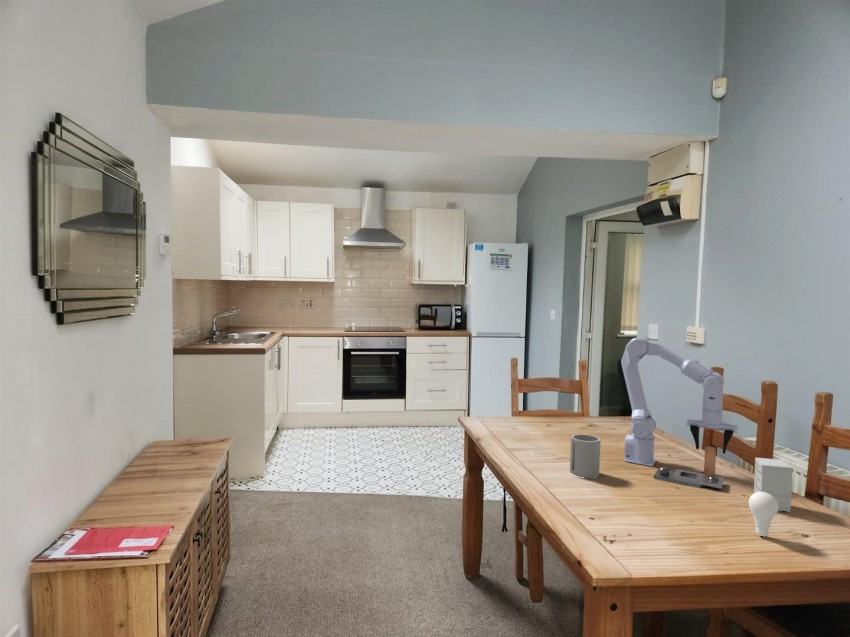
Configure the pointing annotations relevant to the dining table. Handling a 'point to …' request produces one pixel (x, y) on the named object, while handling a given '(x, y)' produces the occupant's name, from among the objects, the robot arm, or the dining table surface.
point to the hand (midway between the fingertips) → (710, 450)
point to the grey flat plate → (688, 478)
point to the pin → (710, 461)
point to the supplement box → (774, 480)
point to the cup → (585, 455)
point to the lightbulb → (763, 511)
